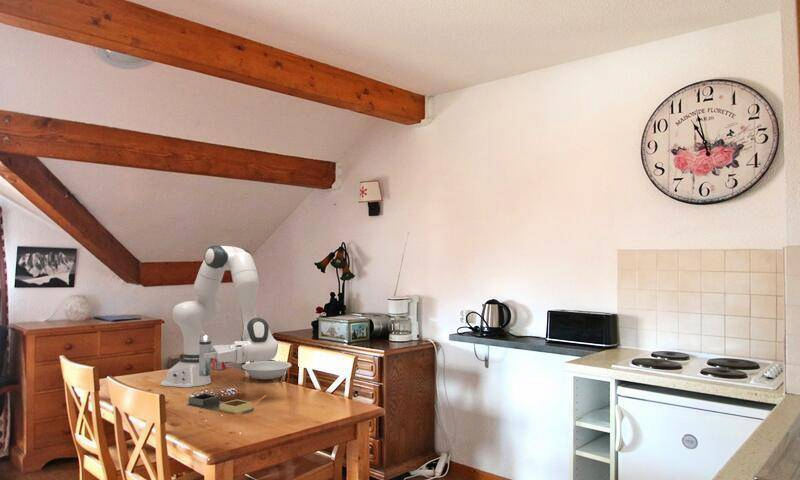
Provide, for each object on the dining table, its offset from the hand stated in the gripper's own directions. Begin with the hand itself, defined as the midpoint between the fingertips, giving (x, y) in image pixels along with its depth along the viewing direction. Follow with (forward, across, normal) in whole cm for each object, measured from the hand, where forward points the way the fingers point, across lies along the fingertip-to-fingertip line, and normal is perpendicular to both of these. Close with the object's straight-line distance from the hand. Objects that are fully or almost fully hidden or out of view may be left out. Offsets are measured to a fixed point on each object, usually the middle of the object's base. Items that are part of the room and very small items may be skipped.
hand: (202, 354), depth 229 cm
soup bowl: (-34, -41, +21) cm, 58 cm away
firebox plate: (-6, +7, +21) cm, 23 cm away
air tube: (-1, 0, +8) cm, 9 cm away
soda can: (-15, -74, +21) cm, 78 cm away
